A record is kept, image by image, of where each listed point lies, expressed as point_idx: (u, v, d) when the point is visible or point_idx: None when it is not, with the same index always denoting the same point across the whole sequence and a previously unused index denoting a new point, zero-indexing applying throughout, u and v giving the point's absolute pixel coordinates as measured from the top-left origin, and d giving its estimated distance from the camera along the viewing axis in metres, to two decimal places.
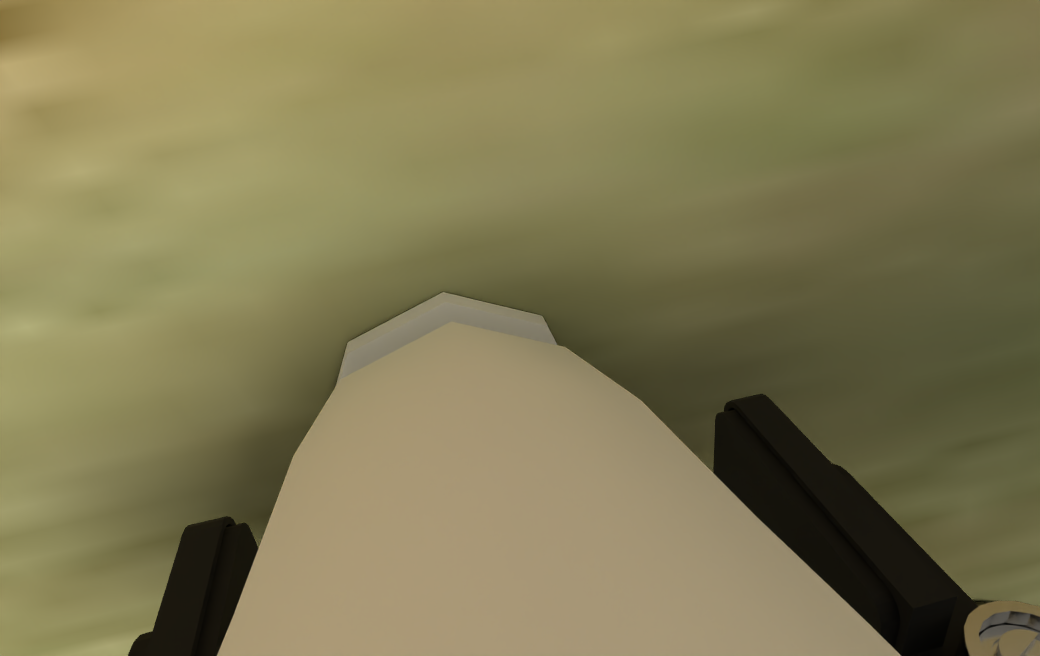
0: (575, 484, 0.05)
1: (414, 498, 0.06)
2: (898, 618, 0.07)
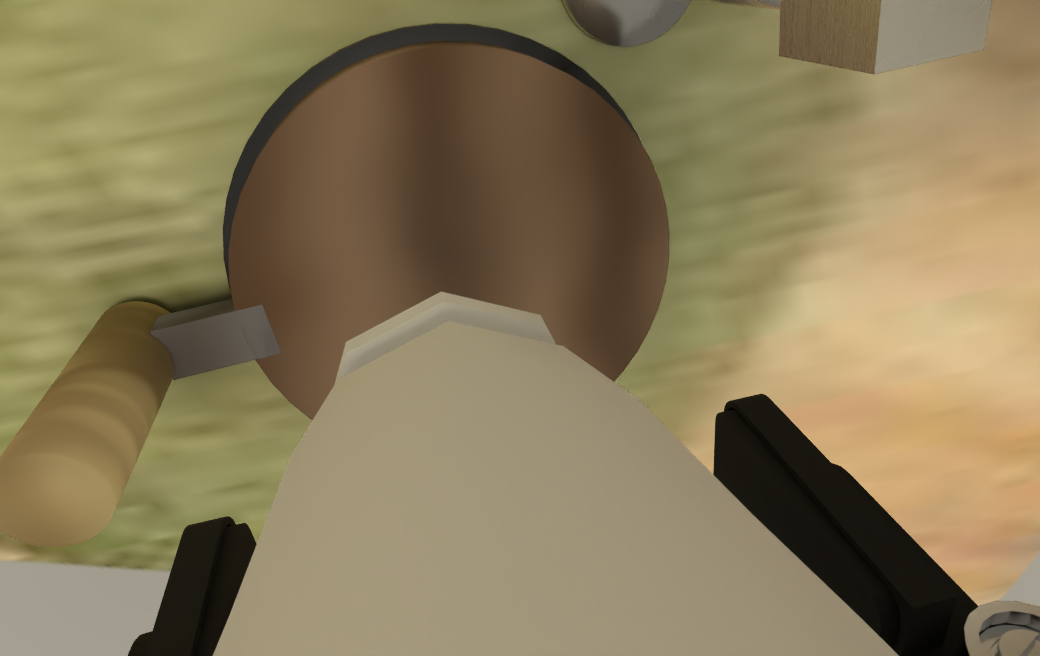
0: (573, 483, 0.05)
1: (410, 498, 0.06)
2: (898, 618, 0.07)
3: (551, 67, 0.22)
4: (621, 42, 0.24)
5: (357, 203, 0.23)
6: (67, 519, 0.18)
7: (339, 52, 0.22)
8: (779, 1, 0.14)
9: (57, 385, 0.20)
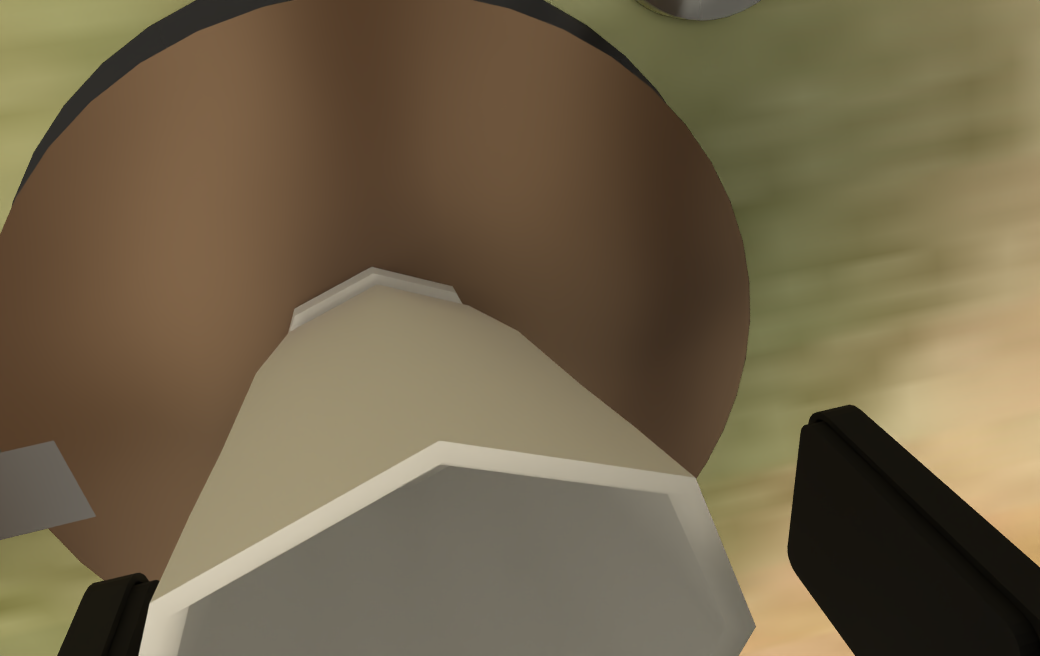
0: (454, 358, 0.08)
1: (345, 372, 0.08)
2: (1039, 650, 0.07)
3: (580, 42, 0.12)
4: (690, 13, 0.14)
5: (226, 270, 0.13)
6: None
7: (201, 0, 0.12)
8: None
9: None
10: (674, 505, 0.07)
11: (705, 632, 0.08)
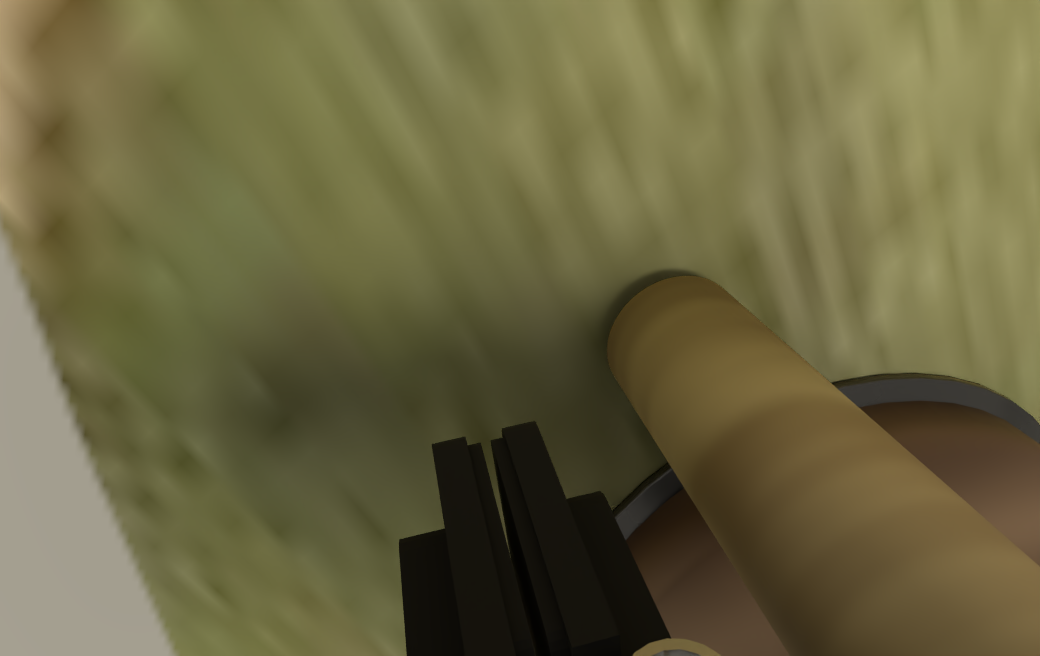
0: None
1: None
2: None
3: None
4: None
5: None
6: None
7: None
8: None
9: (902, 446, 0.10)
10: None
11: None
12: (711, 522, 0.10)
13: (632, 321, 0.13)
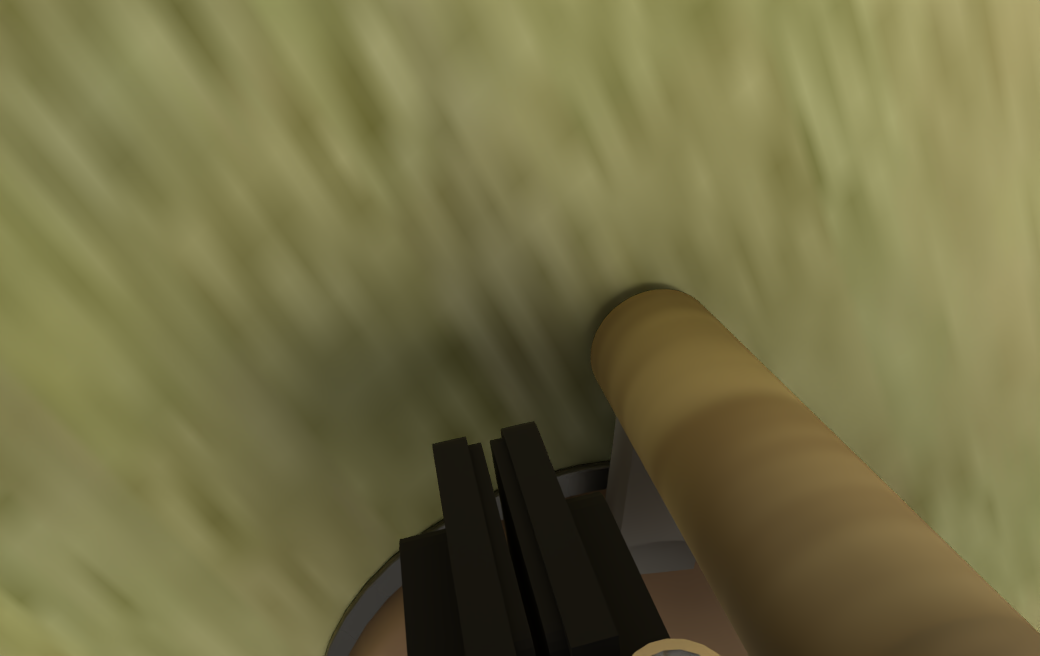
0: None
1: None
2: None
3: None
4: None
5: None
6: None
7: None
8: None
9: None
10: None
11: None
12: (678, 469, 0.11)
13: (642, 306, 0.15)
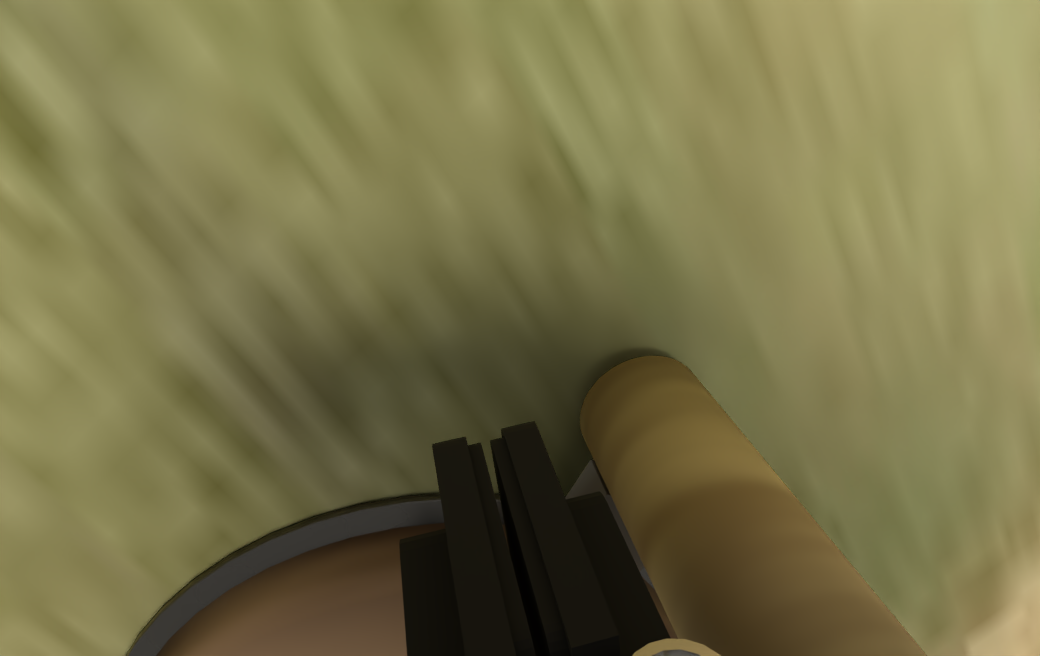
0: None
1: None
2: None
3: None
4: None
5: None
6: None
7: None
8: None
9: None
10: None
11: None
12: (690, 531, 0.11)
13: (659, 368, 0.15)
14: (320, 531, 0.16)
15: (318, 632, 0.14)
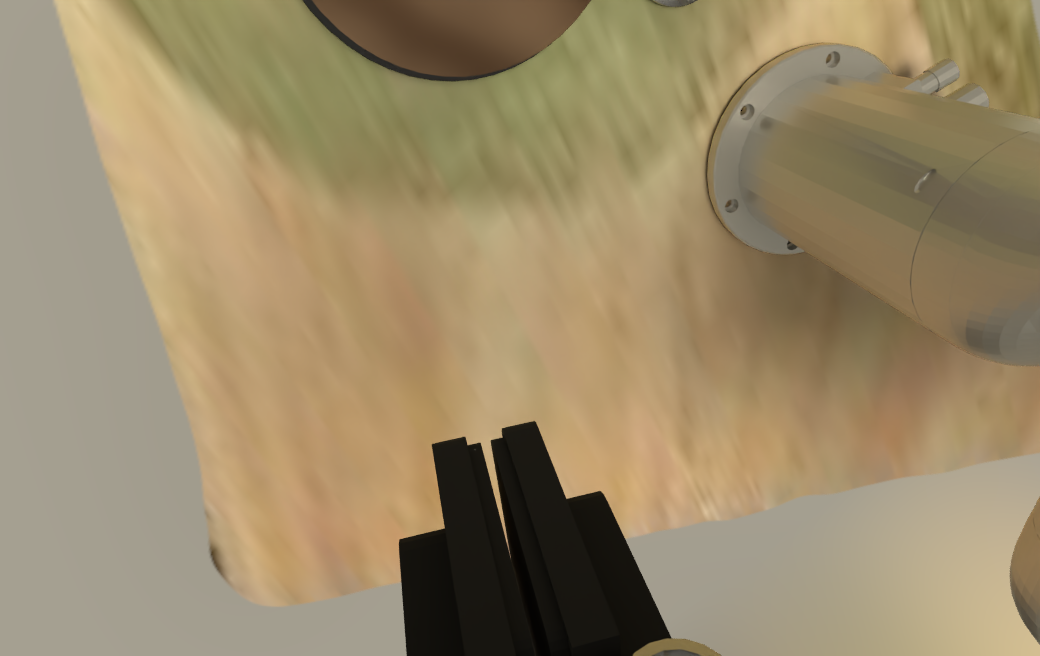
0: None
1: None
2: None
3: (536, 52, 0.33)
4: None
5: None
6: None
7: None
8: None
9: None
10: None
11: None
12: None
13: None
14: None
15: None
